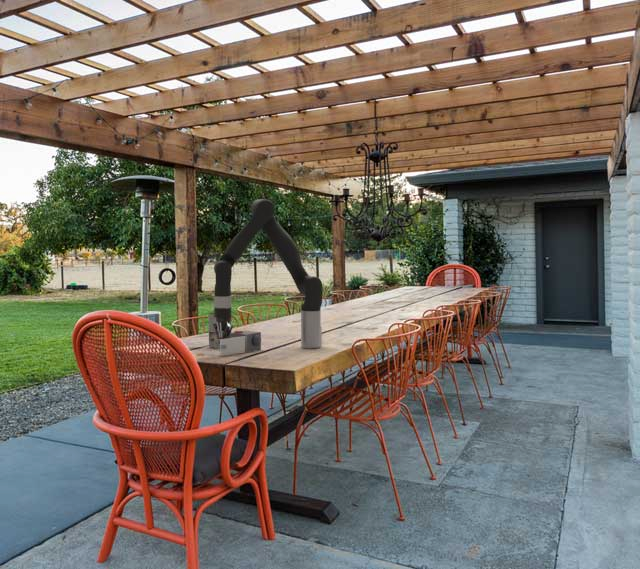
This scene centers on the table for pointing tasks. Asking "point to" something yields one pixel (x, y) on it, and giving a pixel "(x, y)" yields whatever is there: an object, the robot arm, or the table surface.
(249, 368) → the table surface
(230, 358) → the table surface
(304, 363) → the table surface
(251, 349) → the block
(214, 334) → the coffee box
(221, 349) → the side door
